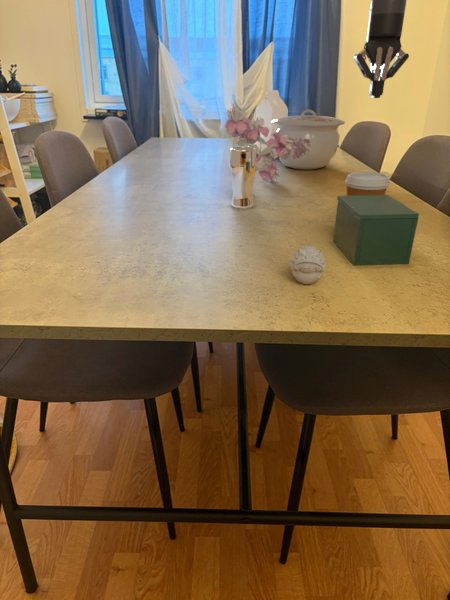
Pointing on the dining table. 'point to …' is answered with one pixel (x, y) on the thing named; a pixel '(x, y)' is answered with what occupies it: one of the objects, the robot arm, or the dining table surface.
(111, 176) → the dining table surface
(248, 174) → the beer glass
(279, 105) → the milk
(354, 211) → the bread bin lid
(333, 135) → the chamber pot
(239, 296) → the dining table surface
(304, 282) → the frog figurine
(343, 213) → the green box
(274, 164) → the flower
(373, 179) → the disposable coffee cup
